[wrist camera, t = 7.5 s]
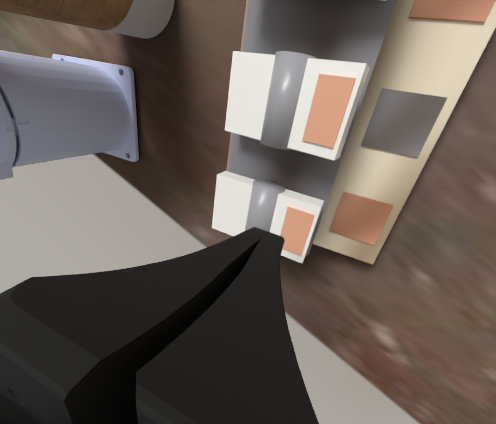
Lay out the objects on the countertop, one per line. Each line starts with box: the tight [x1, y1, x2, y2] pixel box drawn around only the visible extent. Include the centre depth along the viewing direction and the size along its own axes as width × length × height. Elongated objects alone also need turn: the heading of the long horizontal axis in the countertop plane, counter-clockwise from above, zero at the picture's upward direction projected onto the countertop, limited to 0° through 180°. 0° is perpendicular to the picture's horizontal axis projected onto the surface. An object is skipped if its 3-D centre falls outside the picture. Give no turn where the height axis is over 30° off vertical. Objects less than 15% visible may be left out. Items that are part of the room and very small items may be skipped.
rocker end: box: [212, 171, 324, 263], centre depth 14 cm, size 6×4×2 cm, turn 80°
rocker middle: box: [225, 51, 370, 160], centre depth 11 cm, size 6×4×2 cm, turn 79°
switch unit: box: [226, 0, 496, 265], centre depth 13 cm, size 12×18×4 cm, turn 170°
